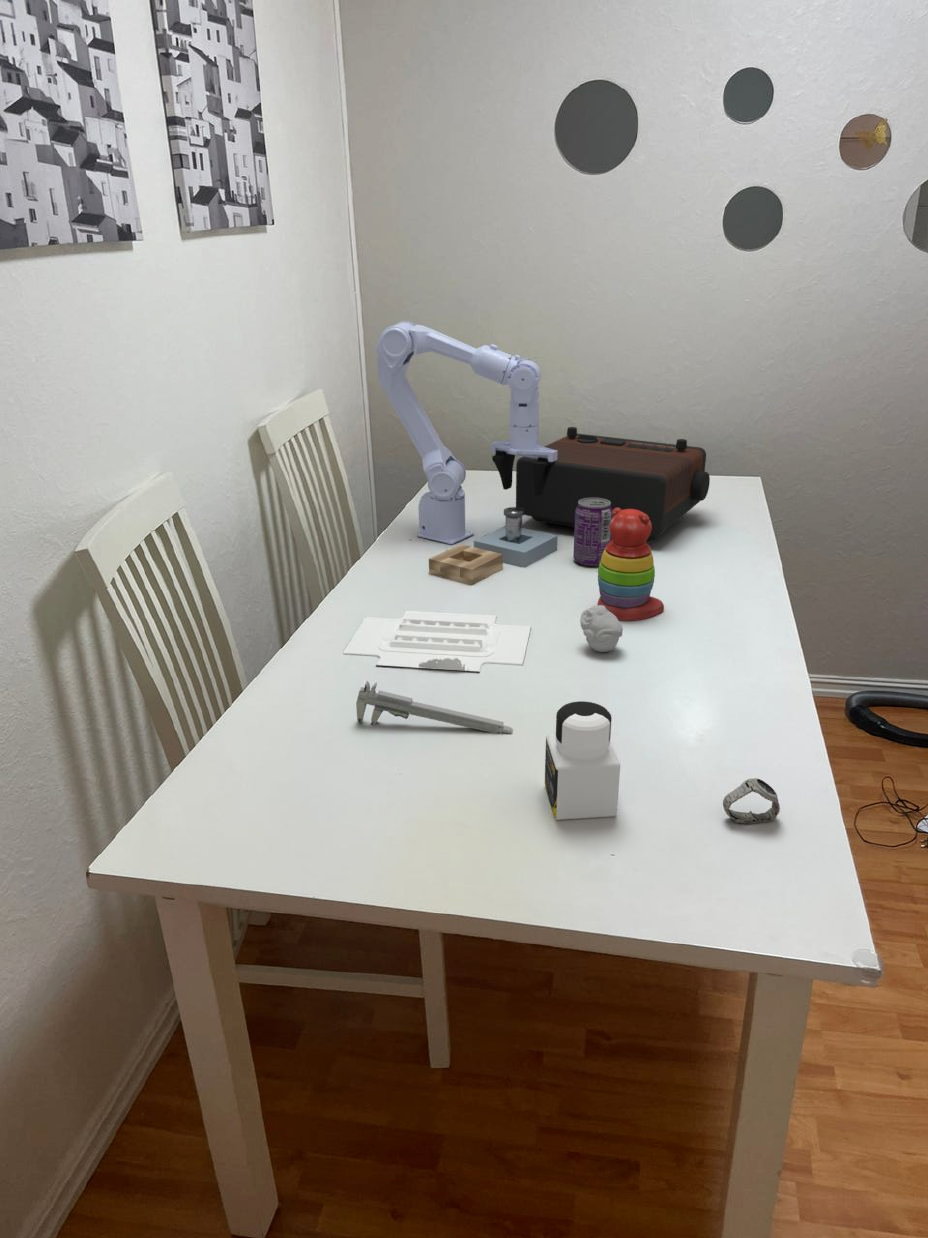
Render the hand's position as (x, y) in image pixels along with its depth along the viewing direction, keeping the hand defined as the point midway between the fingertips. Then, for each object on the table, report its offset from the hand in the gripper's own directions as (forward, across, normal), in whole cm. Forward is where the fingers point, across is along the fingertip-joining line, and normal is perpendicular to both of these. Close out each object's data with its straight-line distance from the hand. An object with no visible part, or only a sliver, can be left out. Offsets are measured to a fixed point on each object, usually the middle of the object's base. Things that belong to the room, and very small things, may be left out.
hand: (523, 491), depth 182 cm
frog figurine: (+11, +38, -36) cm, 53 cm away
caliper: (+11, +31, -69) cm, 76 cm away
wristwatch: (+11, +72, -64) cm, 97 cm away
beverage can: (+11, +18, -3) cm, 21 cm away
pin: (+9, +3, -8) cm, 13 cm away
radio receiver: (+11, +10, +21) cm, 26 cm away
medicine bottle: (+11, +55, -72) cm, 91 cm away
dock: (+10, +3, -7) cm, 13 cm away
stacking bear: (+11, +34, -20) cm, 41 cm away
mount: (+10, +1, -21) cm, 23 cm away
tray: (+11, +16, -48) cm, 51 cm away
